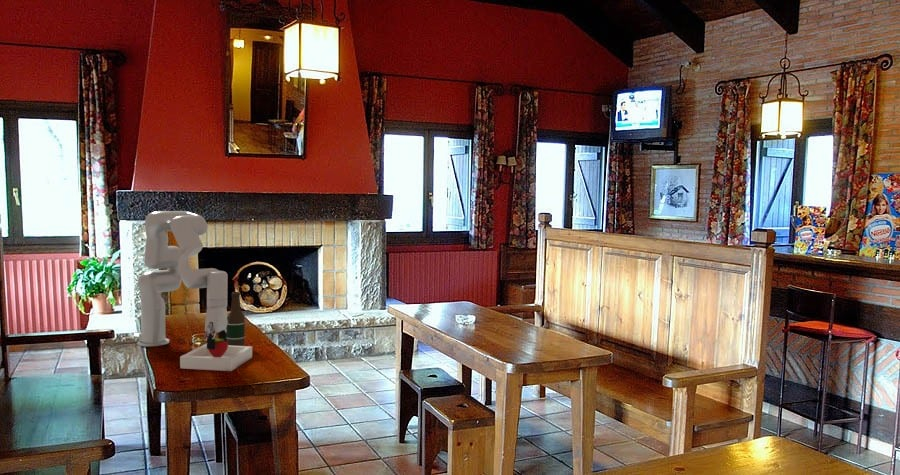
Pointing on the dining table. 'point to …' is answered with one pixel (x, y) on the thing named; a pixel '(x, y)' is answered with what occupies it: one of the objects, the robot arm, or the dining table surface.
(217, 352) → the strawberry
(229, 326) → the beer bottle
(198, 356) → the tray
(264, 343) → the dining table surface
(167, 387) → the dining table surface
